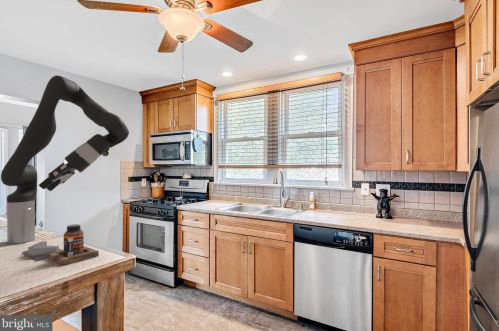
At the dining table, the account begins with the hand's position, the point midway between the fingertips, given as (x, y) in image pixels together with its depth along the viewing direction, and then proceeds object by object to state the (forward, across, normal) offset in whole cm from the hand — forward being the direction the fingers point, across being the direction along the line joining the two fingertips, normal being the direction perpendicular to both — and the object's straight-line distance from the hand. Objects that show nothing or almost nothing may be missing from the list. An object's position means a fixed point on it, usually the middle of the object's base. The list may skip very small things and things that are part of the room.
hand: (44, 188), depth 96 cm
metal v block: (+17, -9, +16) cm, 25 cm away
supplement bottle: (+11, +1, +24) cm, 27 cm away
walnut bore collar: (+11, +1, +24) cm, 26 cm away
